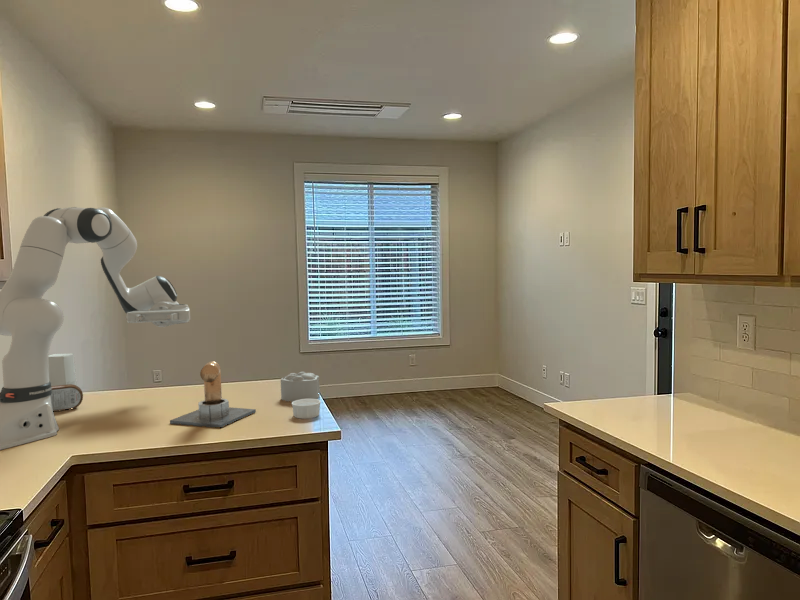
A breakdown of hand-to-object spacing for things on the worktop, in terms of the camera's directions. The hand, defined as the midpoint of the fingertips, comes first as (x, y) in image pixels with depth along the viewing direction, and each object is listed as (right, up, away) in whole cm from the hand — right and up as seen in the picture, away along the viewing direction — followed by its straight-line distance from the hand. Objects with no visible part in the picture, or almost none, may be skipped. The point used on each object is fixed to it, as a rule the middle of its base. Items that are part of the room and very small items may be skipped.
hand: (154, 318), depth 193 cm
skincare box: (-43, -30, +21) cm, 56 cm away
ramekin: (+52, -30, -12) cm, 61 cm away
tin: (-32, -31, +1) cm, 45 cm away
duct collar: (+24, -30, -13) cm, 41 cm away
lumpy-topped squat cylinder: (+46, -29, +11) cm, 55 cm away
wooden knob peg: (+24, -30, -15) cm, 41 cm away
